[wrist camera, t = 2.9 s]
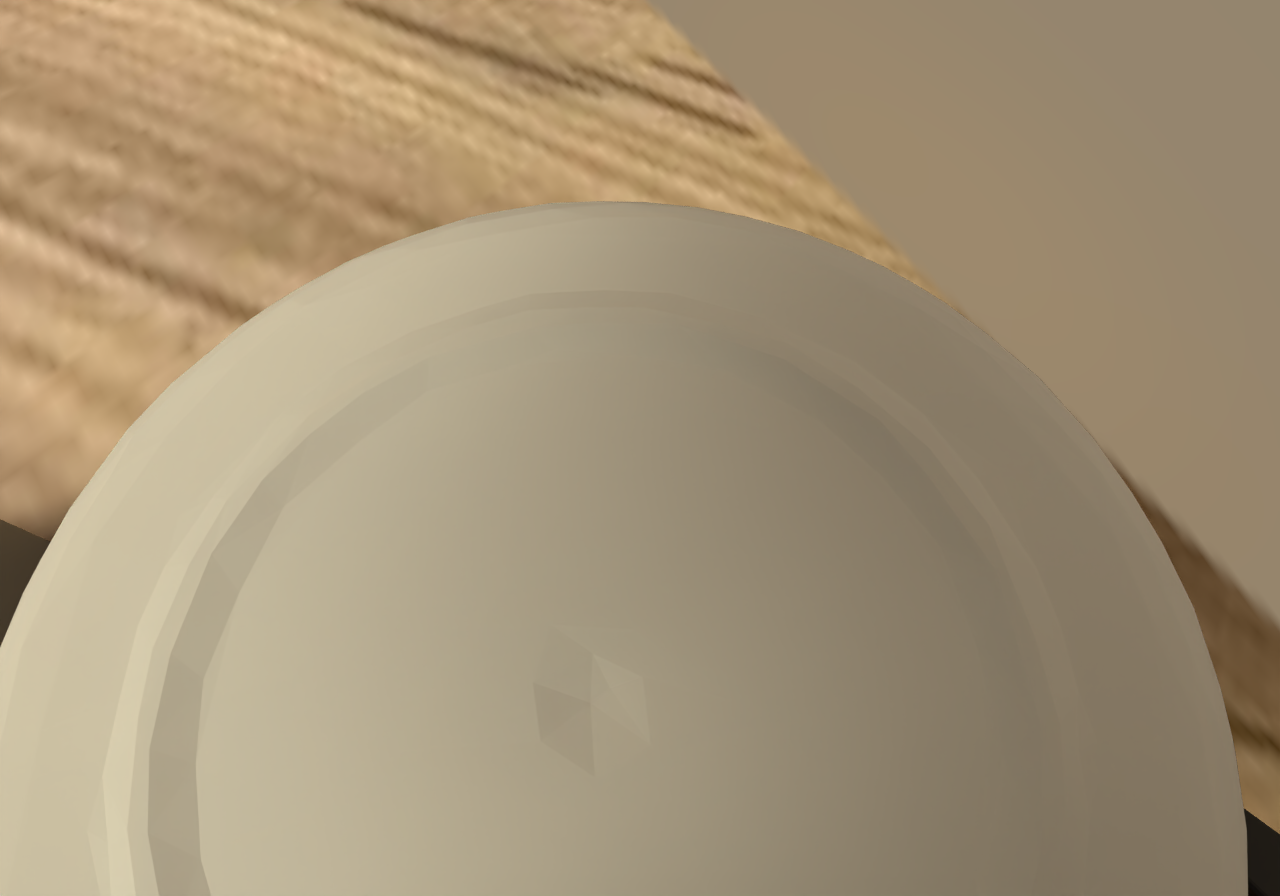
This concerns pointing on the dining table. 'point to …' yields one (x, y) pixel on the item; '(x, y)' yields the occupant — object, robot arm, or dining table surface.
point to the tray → (16, 568)
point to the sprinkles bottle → (611, 599)
